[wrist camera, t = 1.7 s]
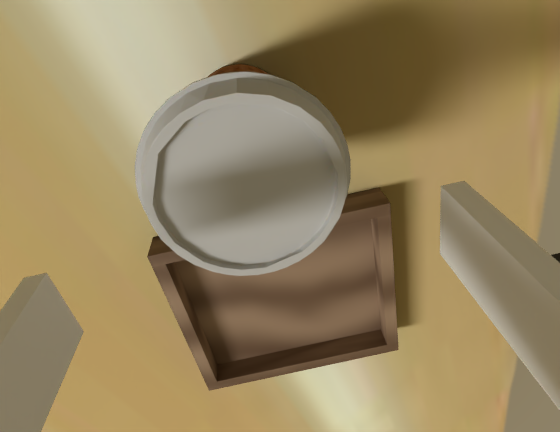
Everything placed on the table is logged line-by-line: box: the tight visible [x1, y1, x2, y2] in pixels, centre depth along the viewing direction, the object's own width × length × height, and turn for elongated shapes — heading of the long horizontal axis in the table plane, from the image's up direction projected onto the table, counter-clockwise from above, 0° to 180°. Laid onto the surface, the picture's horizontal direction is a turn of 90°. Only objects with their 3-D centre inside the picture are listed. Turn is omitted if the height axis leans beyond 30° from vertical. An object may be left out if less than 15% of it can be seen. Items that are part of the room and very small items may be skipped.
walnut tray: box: [147, 188, 398, 391], centre depth 34 cm, size 16×18×2 cm
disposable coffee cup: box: [135, 64, 350, 276], centre depth 22 cm, size 10×10×12 cm
